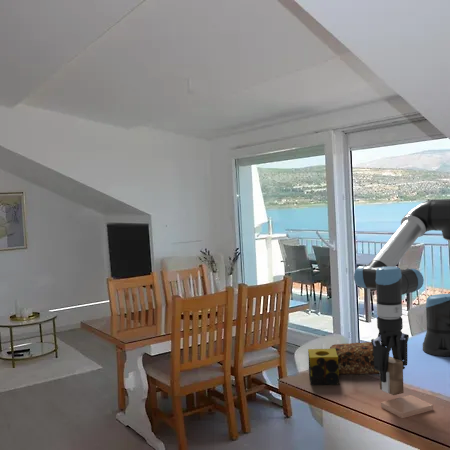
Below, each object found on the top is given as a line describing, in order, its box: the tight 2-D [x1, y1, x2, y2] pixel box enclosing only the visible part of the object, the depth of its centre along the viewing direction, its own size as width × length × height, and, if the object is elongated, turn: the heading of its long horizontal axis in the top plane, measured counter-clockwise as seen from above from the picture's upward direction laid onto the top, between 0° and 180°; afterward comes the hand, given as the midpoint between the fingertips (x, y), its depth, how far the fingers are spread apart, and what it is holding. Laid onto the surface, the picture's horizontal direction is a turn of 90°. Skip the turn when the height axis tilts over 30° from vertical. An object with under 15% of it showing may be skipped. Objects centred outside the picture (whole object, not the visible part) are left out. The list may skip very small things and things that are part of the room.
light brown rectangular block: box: [379, 355, 404, 396], centre depth 159 cm, size 4×6×10 cm, turn 25°
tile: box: [380, 394, 434, 419], centre depth 153 cm, size 12×2×9 cm
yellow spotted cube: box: [307, 348, 340, 386], centre depth 180 cm, size 10×10×10 cm
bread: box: [329, 341, 380, 375], centre depth 189 cm, size 19×11×10 cm, turn 83°
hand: (391, 390), depth 159 cm, fingers closed on light brown rectangular block, 4 cm apart
